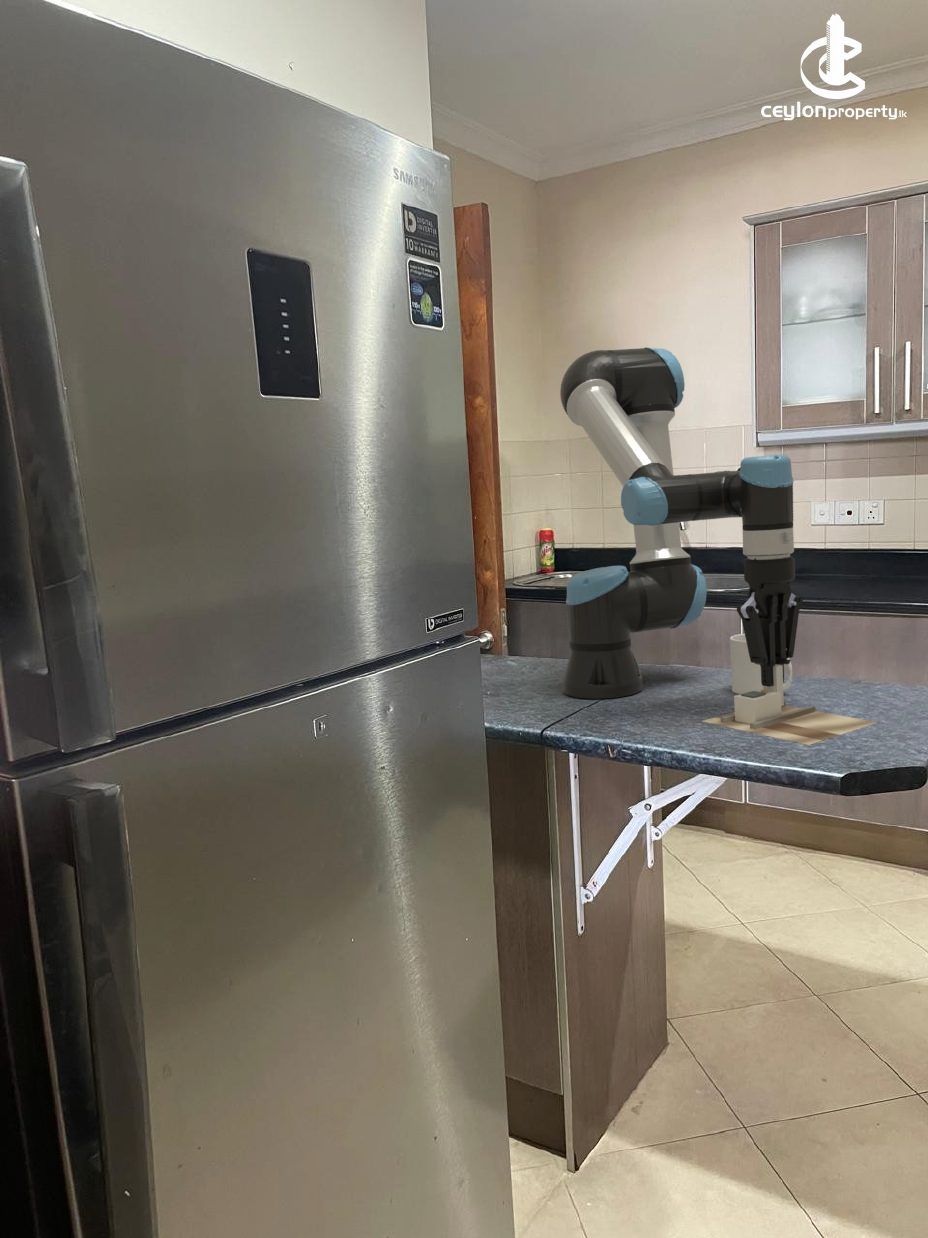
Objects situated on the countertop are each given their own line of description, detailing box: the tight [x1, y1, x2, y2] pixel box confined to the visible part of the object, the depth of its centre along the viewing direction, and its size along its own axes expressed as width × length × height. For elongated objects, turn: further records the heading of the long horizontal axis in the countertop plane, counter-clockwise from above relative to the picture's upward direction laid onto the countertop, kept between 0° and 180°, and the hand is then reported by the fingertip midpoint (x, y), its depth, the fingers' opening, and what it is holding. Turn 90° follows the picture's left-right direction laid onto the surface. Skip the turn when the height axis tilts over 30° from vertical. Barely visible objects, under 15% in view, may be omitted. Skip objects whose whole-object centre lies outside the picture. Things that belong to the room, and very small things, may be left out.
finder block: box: [733, 689, 781, 724], centre depth 146 cm, size 4×6×4 cm, turn 123°
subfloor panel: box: [701, 701, 879, 746], centre depth 143 cm, size 20×16×2 cm
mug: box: [729, 633, 793, 695], centre depth 164 cm, size 9×12×11 cm
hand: (773, 704), depth 148 cm, fingers closed
